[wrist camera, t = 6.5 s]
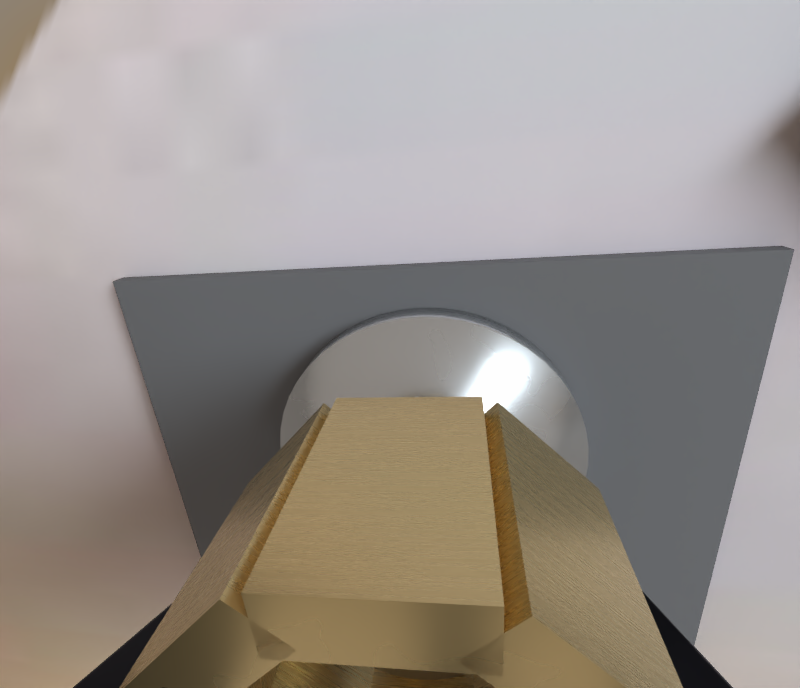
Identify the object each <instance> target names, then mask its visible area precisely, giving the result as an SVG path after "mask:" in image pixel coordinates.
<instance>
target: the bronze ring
mask: <svg viewBox="0 0 800 688" xmlns="http://www.w3.org/2000/svg"><path fill="white" fill-rule="evenodd" d="M373 667H379V668H393V669H407V670H421V671H435V672H449V673H463V674H464V675H462V676H457V677H453V678H448V679H440V680H418V679H409V678H404V677H399V676H395V675H391V674H388V673H385V672H382V671H380V670H377V669H375V668H373ZM119 688H683V686H682V684H681V682H680V679H679V677H678V675H677V672H676V670H675V668H674V665H673V663H672V660H671V658H670V656H669V653H668V651H667V649H666V646H665V644H664V641H663V639H662V637H661V634H660V632H659V630H658V627H657V625H656V622H655V620H654V618H653V615H652V613H651V611H650V608H649V606H648V604H647V601H646V599H645V596H644V594H643V592H642V589H641V587H640V585H639V582H638V580H637V577H636V575H635V573H634V570H633V568H632V566H631V563H630V561H629V558H628V556H627V554H626V551H625V549H624V547H623V544H622V542H621V540H620V537H619V535H618V532H617V530H616V528H615V525H614V523H613V521H612V518H611V516H610V513H609V511H608V509H607V506H606V504H605V502H604V499H603V497H602V495H601V492H600V490H599V488H597V487H596V486H595V485H594V484H593V483H592V482H590V481H589V480H588V479H587V478H586V477H585V476H583V475H582V474H581V473H580V472H579V471H578V470H576V469H575V468H574V467H573V466H572V465H571V464H569V463H568V462H567V461H566V460H565V459H564V458H562V457H561V456H560V455H559V454H558V453H557V452H555V451H554V450H553V449H552V448H551V447H550V446H548V445H547V444H546V443H545V442H544V441H543V440H541V439H540V438H539V437H538V436H537V435H536V434H534V433H533V432H532V431H531V430H530V429H529V428H527V427H526V426H525V425H524V424H523V423H522V422H520V421H519V420H518V419H517V418H516V417H515V416H513V415H512V414H511V413H510V412H509V411H508V410H506V409H505V408H504V407H503V406H502V405H501V404H499V403H498V402H497V403H496V404H494V405H493V406H492V407H491V408H490V409H489V410H487V411H486V412H485V413H484V406H483V397H378V398H336V400H335V402H334V404H333V406H332V408H329V407H328V406H327V405H326V404H324V403H323V404H322V406H321V407H320V408H319V409H318V410H317V411H316V412H315V413H314V414H313V415H312V416H311V417H310V418H309V419H308V420H307V421H306V422H305V424H304V425H303V426H302V427H301V428H300V429H299V430H298V431H297V432H296V433H295V434H294V435H293V436H292V437H291V438H290V439H289V441H288V442H287V443H286V444H285V445H284V446H283V447H282V448H281V449H280V450H279V451H278V452H277V453H276V454H275V455H274V456H273V457H272V459H271V460H270V461H269V462H268V463H267V464H266V465H265V466H264V467H263V468H262V469H261V470H260V471H259V472H258V473H257V474H256V475H255V477H254V478H253V479H252V480H251V481H250V482H249V483H248V484H247V486H246V488H245V489H244V491H243V492H242V494H241V496H240V497H239V499H238V500H237V502H236V504H235V505H234V507H233V508H232V510H231V511H230V513H229V515H228V516H227V518H226V519H225V521H224V523H223V524H222V526H221V527H220V529H219V530H218V532H217V534H216V535H215V537H214V538H213V540H212V542H211V543H210V545H209V546H208V548H207V549H206V551H205V553H204V554H203V556H202V557H201V559H200V561H199V562H198V564H197V565H196V567H195V569H194V570H193V572H192V573H191V575H190V576H189V578H188V580H187V581H186V583H185V584H184V586H183V588H182V589H181V591H180V592H179V594H178V595H177V597H176V599H175V600H174V602H173V603H172V605H171V607H170V608H169V610H168V611H167V613H166V614H165V616H164V618H163V619H162V621H161V622H160V624H159V626H158V627H157V629H156V630H155V632H154V634H153V635H152V637H151V638H150V640H149V641H148V643H147V645H146V646H145V648H144V649H143V651H142V653H141V654H140V656H139V657H138V659H137V660H136V662H135V664H134V665H133V667H132V668H131V670H130V672H129V673H128V675H127V676H126V678H125V679H124V681H123V683H122V684H121V686H120V687H119Z"/></svg>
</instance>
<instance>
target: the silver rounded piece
mask: <svg viewBox="0 0 800 688" xmlns="http://www.w3.org/2000/svg"><path fill="white" fill-rule="evenodd" d="M378 397H483V406H484V413H485V412H486V411H487V410H489V409H490V408H491V407H492V406H493V405H494V404H496V403H497V402H498V403H499V404H501V405H502V406H503V407H504V408H505V409H506V410H508V411H509V412H510V413H511V414H512V415H513V416H515V417H516V418H517V419H518V420H519V421H520V422H522V423H523V424H524V425H525V426H526V427H527V428H529V429H530V430H531V431H532V432H533V433H534V434H536V435H537V436H538V437H539V438H540V439H541V440H543V441H544V442H545V443H546V444H547V445H548V446H550V447H551V448H552V449H553V450H554V451H555V452H557V453H558V454H559V455H560V456H561V457H562V458H564V459H565V460H566V461H567V462H568V463H569V464H571V465H572V466H573V467H574V468H575V469H576V470H578V471H579V472H580V473H581V474H582V475H583V476H585V477H586V474H587V468H588V448H589V447H588V440H587V433H586V428H585V425H584V422H583V418H582V415H581V412H580V410H579V408H578V406H577V403H576V401H575V399H574V397H573V395H572V393H571V391H570V389H569V387H568V385H567V383H566V381H565V379H564V378H563V376H562V375H561V373H560V372H559V371H558V369H557V368H556V366H555V365H554V364H553V362H552V361H551V360H550V359H549V358H548V357H547V356H546V355H545V354H544V353H543V352H542V351H541V350H540V349H539V348H538V347H536V346H535V345H534V344H533V343H531V342H530V341H529V340H528V339H526V338H525V337H524V336H522V335H521V334H519V333H517V332H515V331H514V330H512V329H510V328H509V327H507V326H505V325H503V324H501V323H498V322H496V321H493V320H491V319H489V318H486V317H483V316H480V315H476V314H473V313H469V312H466V311H460V310H453V309H447V308H425V307H421V308H411V309H401V310H397V311H392V312H388V313H384V314H380V315H377V316H374V317H372V318H369V319H366V320H364V321H361V322H359V323H358V324H356V325H354V326H352V327H350V328H348V329H346V330H345V331H343V332H342V333H341V334H339V335H338V336H336V337H335V338H334V339H332V340H331V341H330V342H329V343H328V344H327V345H326V346H325V347H324V348H322V349H321V350H320V351H319V352H318V353H317V355H316V356H315V357H314V359H313V360H312V361H311V363H310V364H309V365H308V367H307V368H306V369H305V371H304V372H303V374H302V375H301V376H300V378H299V379H298V381H297V383H296V384H295V386H294V388H293V390H292V392H291V394H290V396H289V398H288V401H287V404H286V407H285V409H284V412H283V418H282V423H281V431H280V447H281V448H282V447H283V446H284V445H285V444H286V443H287V442H288V441H289V439H290V438H291V437H292V436H293V435H294V434H295V433H296V432H297V431H298V430H299V429H300V428H301V427H302V426H303V425H304V424H305V422H306V421H307V420H308V419H309V418H310V417H311V416H312V415H313V414H314V413H315V412H316V411H317V410H318V409H319V408H320V407H321V406H322V404H323V403H324V404H326V405H327V406H328V407H329V408H332V406H333V404H334V402H335V400H336V398H378ZM373 668H375V669H377V670H380V671H382V672H385V673H388V674H391V675H395V676H399V677H404V678H409V679H418V680H440V679H448V678H453V677H457V676H462V675H464V674H463V673H449V672H435V671H421V670H407V669H393V668H379V667H373Z"/></svg>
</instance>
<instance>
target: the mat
mask: <svg viewBox="0 0 800 688" xmlns="http://www.w3.org/2000/svg"><path fill="white" fill-rule="evenodd" d="M793 252H794V249H791V248H787V247H784V246H770V247H749V248H728V249H708V250H687V251H666V252H645V253H625V254H604V255H583V256H563V257H542V258H521V259H500V260H480V261H459V262H438V263H417V264H397V265H376V266H355V267H334V268H314V269H293V270H272V271H251V272H231V273H210V274H189V275H168V276H148V277H127V278H121V279H118V280H116V281H113V284H114V287H115V290H116V293H117V296H118V299H119V302H120V305H121V309H122V312H123V315H124V318H125V321H126V324H127V327H128V330H129V334H130V337H131V340H132V343H133V346H134V349H135V352H136V355H137V359H138V362H139V365H140V368H141V371H142V374H143V377H144V380H145V383H146V387H147V390H148V393H149V396H150V399H151V402H152V405H153V408H154V412H155V415H156V418H157V421H158V424H159V427H160V430H161V433H162V437H163V440H164V443H165V446H166V449H167V452H168V455H169V458H170V461H171V465H172V468H173V471H174V474H175V477H176V480H177V483H178V486H179V490H180V493H181V496H182V499H183V502H184V505H185V508H186V511H187V514H188V518H189V521H190V524H191V527H192V530H193V533H194V536H195V539H196V543H197V546H198V549H199V552H200V555H201V557H202V556H203V554H204V553H205V551H206V549H207V548H208V546H209V545H210V543H211V542H212V540H213V538H214V537H215V535H216V534H217V532H218V530H219V529H220V527H221V526H222V524H223V523H224V521H225V519H226V518H227V516H228V515H229V513H230V511H231V510H232V508H233V507H234V505H235V504H236V502H237V500H238V499H239V497H240V496H241V494H242V492H243V491H244V489H245V488H246V486H247V484H248V483H249V482H250V481H251V480H252V479H253V478H254V477H255V475H256V474H257V473H258V472H259V471H260V470H261V469H262V468H263V467H264V466H265V465H266V464H267V463H268V462H269V461H270V460H271V459H272V457H273V456H274V455H275V454H276V453H277V452H278V451H279V450H280V449H281V447H280V431H281V423H282V418H283V412H284V409H285V407H286V404H287V401H288V398H289V396H290V394H291V392H292V390H293V388H294V386H295V384H296V383H297V381H298V379H299V378H300V376H301V375H302V374H303V372H304V371H305V369H306V368H307V367H308V365H309V364H310V363H311V361H312V360H313V359H314V357H315V356H316V355H317V353H318V352H319V351H320V350H321V349H322V348H324V347H325V346H326V345H327V344H328V343H329V342H330V341H331V340H332V339H334V338H335V337H336V336H338V335H339V334H341V333H342V332H343V331H345V330H346V329H348V328H350V327H352V326H354V325H356V324H358V323H359V322H361V321H364V320H366V319H369V318H372V317H374V316H377V315H380V314H384V313H388V312H392V311H397V310H401V309H411V308H421V307H425V308H447V309H453V310H460V311H466V312H469V313H473V314H476V315H480V316H483V317H486V318H489V319H491V320H493V321H496V322H498V323H501V324H503V325H505V326H507V327H509V328H510V329H512V330H514V331H515V332H517V333H519V334H521V335H522V336H524V337H525V338H526V339H528V340H529V341H530V342H531V343H533V344H534V345H535V346H536V347H538V348H539V349H540V350H541V351H542V352H543V353H544V354H545V355H546V356H547V357H548V358H549V359H550V360H551V361H552V362H553V364H554V365H555V366H556V368H557V369H558V371H559V372H560V373H561V375H562V376H563V378H564V379H565V381H566V383H567V385H568V387H569V389H570V391H571V393H572V395H573V397H574V399H575V401H576V403H577V406H578V408H579V410H580V412H581V415H582V418H583V422H584V425H585V428H586V433H587V440H588V447H589V448H588V468H587V474H586V478H587V479H588V480H589V481H590V482H592V483H593V484H594V485H595V486H596V487H597V488H599V490H600V492H601V495H602V497H603V499H604V502H605V504H606V506H607V509H608V511H609V513H610V516H611V518H612V521H613V523H614V525H615V528H616V530H617V532H618V535H619V537H620V540H621V542H622V544H623V547H624V549H625V551H626V554H627V556H628V558H629V561H630V563H631V566H632V568H633V570H634V573H635V575H636V577H637V580H638V582H639V585H640V587H641V589H642V591H643V592H644V593H645V594H646V595H647V596H648V597H649V598H650V600H651V601H652V602H653V603H654V604H655V605H656V606H657V607H658V608H659V609H660V610H661V611H662V612H663V613H664V615H665V616H666V617H667V618H668V619H669V620H670V621H671V622H672V623H673V624H674V625H675V626H676V627H677V628H678V630H679V631H680V632H681V633H682V634H683V635H684V636H685V637H686V638H687V639H688V640H689V641H690V642H691V643H692V645H693V646H694V644H695V640H696V636H697V632H698V628H699V624H700V620H701V616H702V612H703V608H704V604H705V600H706V596H707V592H708V588H709V584H710V580H711V577H712V573H713V569H714V565H715V561H716V557H717V553H718V549H719V545H720V541H721V537H722V533H723V529H724V525H725V521H726V517H727V513H728V509H729V505H730V501H731V497H732V493H733V489H734V486H735V482H736V478H737V474H738V470H739V466H740V462H741V458H742V454H743V450H744V446H745V442H746V438H747V434H748V430H749V426H750V422H751V418H752V414H753V410H754V406H755V402H756V398H757V395H758V391H759V387H760V383H761V379H762V375H763V371H764V367H765V363H766V359H767V355H768V351H769V347H770V343H771V339H772V335H773V331H774V327H775V323H776V319H777V315H778V311H779V307H780V304H781V300H782V296H783V292H784V288H785V284H786V280H787V276H788V272H789V268H790V264H791V260H792V256H793Z"/></svg>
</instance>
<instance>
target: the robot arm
mask: <svg viewBox="0 0 800 688" xmlns="http://www.w3.org/2000/svg"><path fill="white" fill-rule="evenodd" d="M642 592H643V591H642ZM643 594H644V596H645V599H646V601H647V604H648V606H649V608H650V611H651V613H652V615H653V618H654V620H655V622H656V625H657V627H658V630H659V632H660V634H661V637H662V639H663V641H664V644H665V646H666V649H667V651H668V653H669V656H670V658H671V660H672V663H673V665H674V668H675V670H676V672H677V675H678V677H679V679H680V682H681V684H682V686H683V688H733V687H732V686H731V685H730V684H729V683H728V682H727V681H726V680H725V679H724V678H723V677H722V676H721V674H720V673H719V672H718V671H717V670H716V669H715V668H714V667H713V666H712V665H711V664H710V663H709V662H708V661H707V659H706V658H705V657H704V656H703V655H702V654H701V653H700V652H699V651H698V650H697V649H696V648H695V647H694V646H693V645H692V643H691V642H690V641H689V640H688V639H687V638H686V637H685V636H684V635H683V634H682V633H681V632H680V631H679V630H678V628H677V627H676V626H675V625H674V624H673V623H672V622H671V621H670V620H669V619H668V618H667V617H666V616H665V615H664V613H663V612H662V611H661V610H660V609H659V608H658V607H657V606H656V605H655V604H654V603H653V602H652V601H651V600H650V598H649V597H648V596H647V595H646V594H645V593H644V592H643ZM171 605H172V604H171ZM171 605H170V606H169V607H167V608H166V609H165V610H164V611H163V612H161V613H160V614H159V615H158V616H157V617H156V618H154V619H153V620H152V621H151V622H150V623H148V624H147V625H146V626H145V627H144V628H143V629H141V630H140V631H139V632H138V633H137V634H135V635H134V636H133V637H132V638H131V639H130V640H128V641H127V642H126V643H125V644H124V645H122V646H121V647H120V648H119V649H118V650H117V651H115V652H114V653H113V654H112V655H111V656H110V657H108V658H107V659H106V660H105V661H104V662H102V663H101V664H100V665H99V666H98V667H97V668H95V669H94V670H93V671H92V672H91V673H89V674H88V675H87V676H86V677H85V678H84V679H82V680H81V681H80V682H79V683H78V684H76V685H75V686H74V687H73V688H119V687H120V686H121V684H122V683H123V681H124V679H125V678H126V676H127V675H128V673H129V672H130V670H131V668H132V667H133V665H134V664H135V662H136V660H137V659H138V657H139V656H140V654H141V653H142V651H143V649H144V648H145V646H146V645H147V643H148V641H149V640H150V638H151V637H152V635H153V634H154V632H155V630H156V629H157V627H158V626H159V624H160V622H161V621H162V619H163V618H164V616H165V614H166V613H167V611H168V610H169V608H170V607H171Z"/></svg>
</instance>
